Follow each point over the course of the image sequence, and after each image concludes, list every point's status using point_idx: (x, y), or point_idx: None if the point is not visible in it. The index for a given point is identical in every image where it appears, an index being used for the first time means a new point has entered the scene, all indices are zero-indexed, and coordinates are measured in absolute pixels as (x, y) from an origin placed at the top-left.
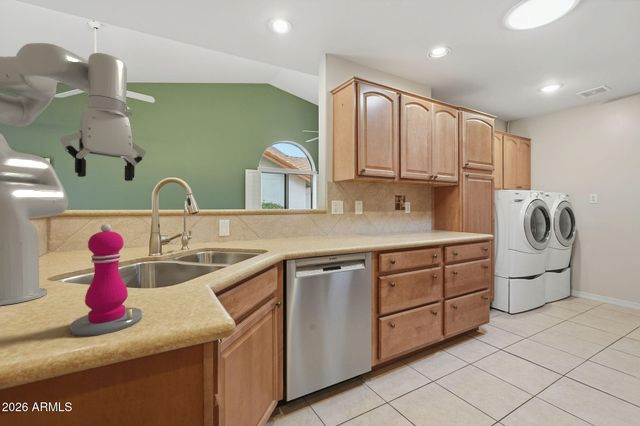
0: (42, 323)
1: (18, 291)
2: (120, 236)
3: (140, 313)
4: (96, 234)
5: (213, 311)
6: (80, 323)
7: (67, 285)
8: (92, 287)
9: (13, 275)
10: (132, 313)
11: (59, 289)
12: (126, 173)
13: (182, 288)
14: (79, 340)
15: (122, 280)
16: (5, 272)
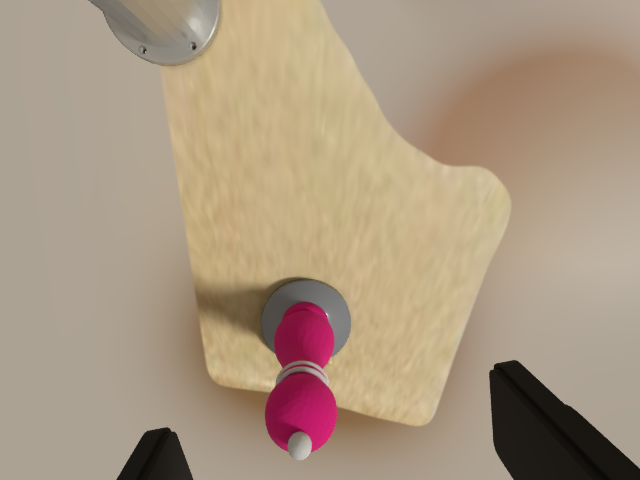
0: (229, 250)
1: (166, 40)
2: (329, 437)
3: (346, 339)
4: (278, 443)
5: (435, 378)
6: (272, 323)
7: None
8: (281, 365)
9: (135, 21)
10: (337, 330)
11: None
12: (534, 453)
13: (463, 204)
14: (270, 358)
15: (328, 357)
16: (113, 14)
